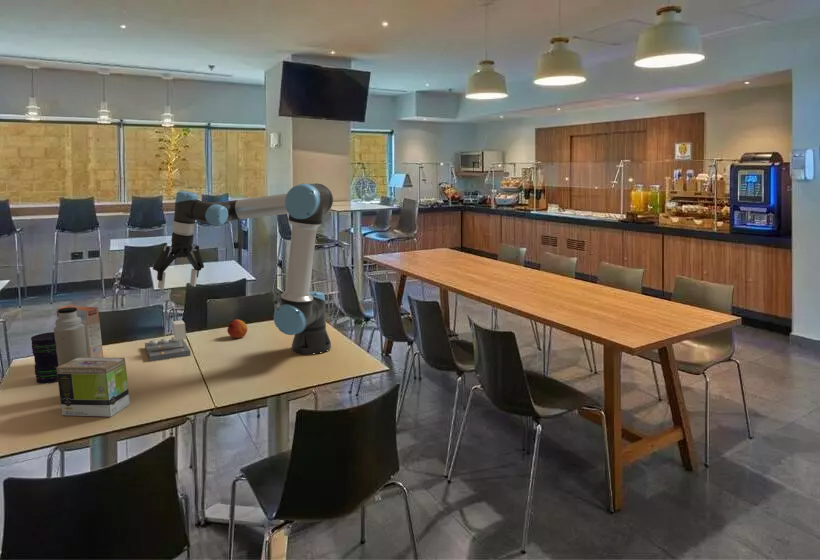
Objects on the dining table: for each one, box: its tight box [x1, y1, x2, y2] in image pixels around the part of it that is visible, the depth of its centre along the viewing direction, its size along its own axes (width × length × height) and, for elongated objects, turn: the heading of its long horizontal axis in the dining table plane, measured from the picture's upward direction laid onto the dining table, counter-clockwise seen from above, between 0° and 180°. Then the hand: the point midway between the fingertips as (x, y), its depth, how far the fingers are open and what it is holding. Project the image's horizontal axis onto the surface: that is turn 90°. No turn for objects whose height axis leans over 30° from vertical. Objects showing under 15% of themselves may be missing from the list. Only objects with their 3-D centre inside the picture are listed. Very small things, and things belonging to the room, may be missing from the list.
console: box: [144, 336, 192, 362], centre depth 223 cm, size 20×14×4 cm
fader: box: [172, 319, 187, 347], centre depth 221 cm, size 6×4×10 cm, turn 30°
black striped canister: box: [30, 331, 58, 385], centre depth 192 cm, size 10×10×15 cm
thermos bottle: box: [53, 307, 88, 366], centre depth 175 cm, size 8×8×28 cm
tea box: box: [56, 357, 130, 418], centre depth 166 cm, size 15×10×15 cm, turn 84°
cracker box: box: [56, 304, 104, 358], centre depth 208 cm, size 14×6×21 cm, turn 71°
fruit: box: [226, 318, 248, 339], centre depth 241 cm, size 8×8×8 cm
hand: (177, 287), depth 219 cm, fingers open, 13 cm apart
